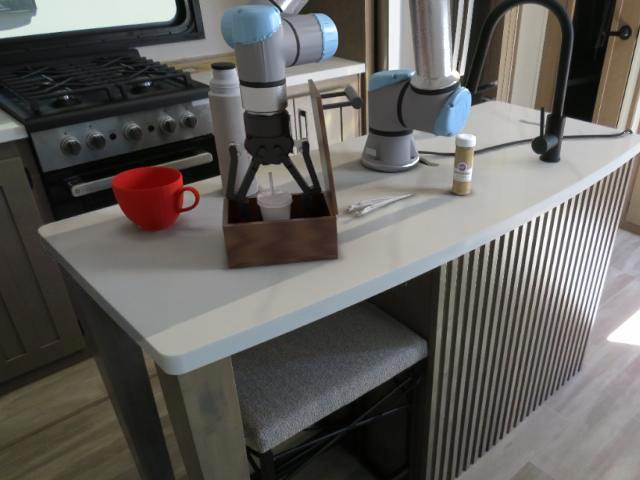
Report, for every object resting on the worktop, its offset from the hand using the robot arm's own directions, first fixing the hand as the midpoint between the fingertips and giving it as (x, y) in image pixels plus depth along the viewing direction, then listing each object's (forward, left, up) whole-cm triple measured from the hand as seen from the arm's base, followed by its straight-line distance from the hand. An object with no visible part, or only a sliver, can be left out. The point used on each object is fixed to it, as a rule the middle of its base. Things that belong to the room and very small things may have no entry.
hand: (278, 230), depth 107 cm
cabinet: (0, 0, -4) cm, 4 cm away
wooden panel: (-9, 0, +15) cm, 18 cm away
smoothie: (0, 0, -3) cm, 3 cm away
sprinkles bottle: (-44, -20, -4) cm, 49 cm away
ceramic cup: (+22, -14, -4) cm, 27 cm away
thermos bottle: (+7, -30, -4) cm, 31 cm away
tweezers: (-24, -16, -4) cm, 29 cm away
